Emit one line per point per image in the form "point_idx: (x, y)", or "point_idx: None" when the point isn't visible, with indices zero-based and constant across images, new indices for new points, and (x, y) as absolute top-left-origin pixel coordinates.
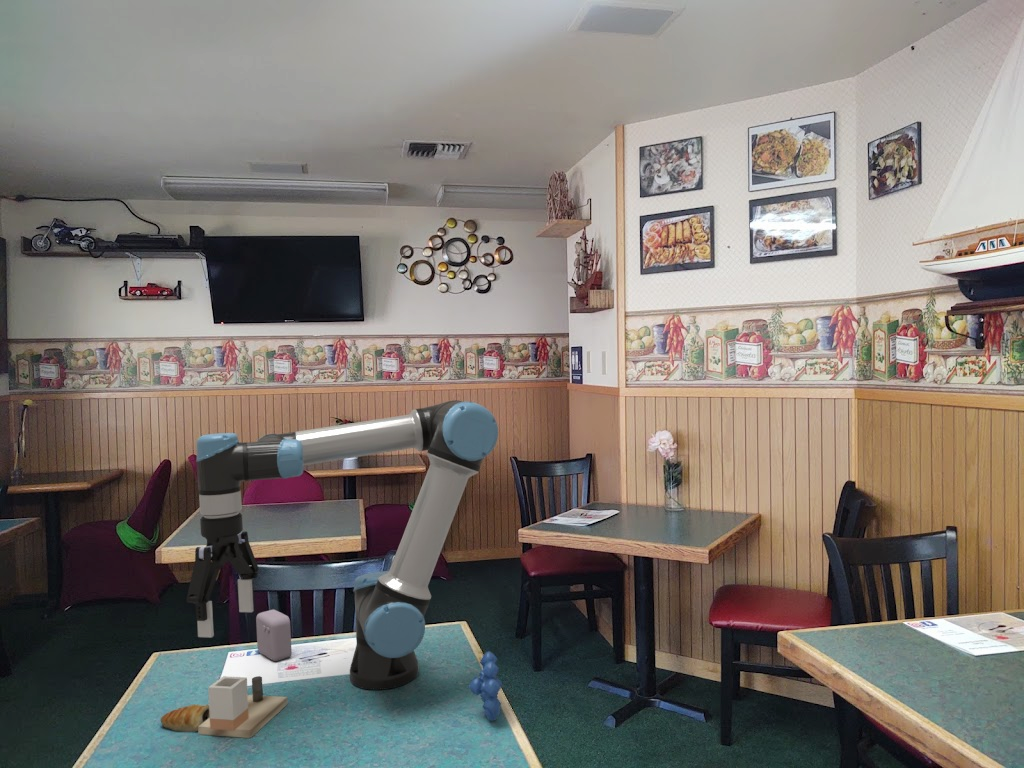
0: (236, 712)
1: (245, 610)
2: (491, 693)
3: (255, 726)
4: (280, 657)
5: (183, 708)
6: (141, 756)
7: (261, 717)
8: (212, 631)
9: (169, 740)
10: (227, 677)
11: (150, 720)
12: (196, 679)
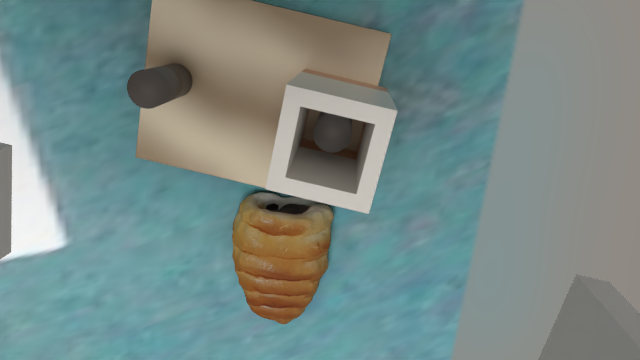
0: (370, 90)
1: (1, 205)
2: None
3: (359, 26)
4: None
5: (275, 280)
6: (448, 297)
7: (305, 23)
8: (608, 301)
9: (372, 262)
10: (278, 169)
11: (256, 347)
12: (12, 322)
